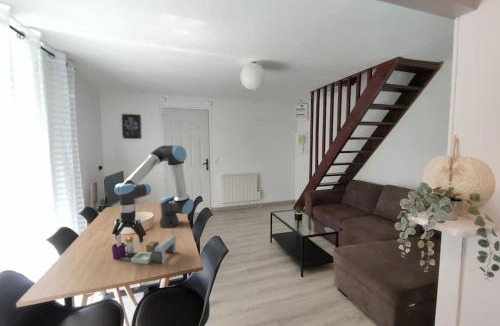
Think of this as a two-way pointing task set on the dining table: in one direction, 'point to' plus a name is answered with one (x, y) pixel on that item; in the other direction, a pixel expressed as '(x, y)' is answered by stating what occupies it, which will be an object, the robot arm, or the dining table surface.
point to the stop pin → (130, 246)
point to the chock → (151, 246)
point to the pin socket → (128, 257)
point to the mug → (118, 251)
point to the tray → (142, 258)
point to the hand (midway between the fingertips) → (129, 247)
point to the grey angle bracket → (163, 250)
